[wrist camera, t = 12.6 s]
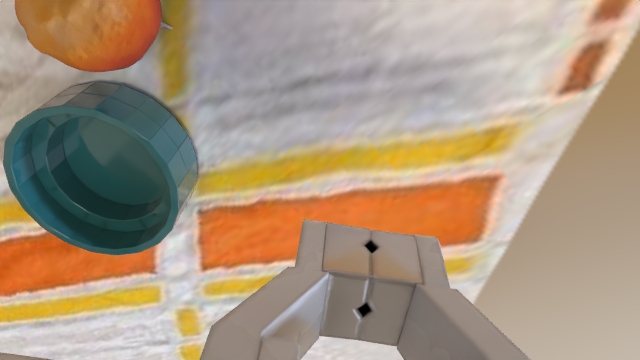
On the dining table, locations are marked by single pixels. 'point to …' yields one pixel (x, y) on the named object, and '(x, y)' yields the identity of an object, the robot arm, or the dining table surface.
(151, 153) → the bowl
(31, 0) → the fruit
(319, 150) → the dining table surface
